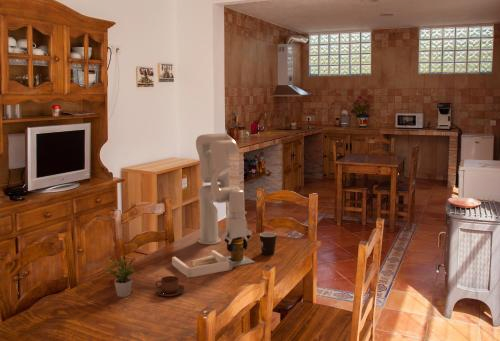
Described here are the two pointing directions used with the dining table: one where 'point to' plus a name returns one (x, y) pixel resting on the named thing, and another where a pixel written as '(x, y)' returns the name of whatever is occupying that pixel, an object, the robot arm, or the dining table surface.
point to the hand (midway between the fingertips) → (237, 249)
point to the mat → (242, 261)
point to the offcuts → (203, 261)
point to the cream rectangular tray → (204, 266)
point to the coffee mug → (268, 243)
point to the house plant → (122, 277)
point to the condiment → (237, 250)
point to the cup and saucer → (169, 286)
